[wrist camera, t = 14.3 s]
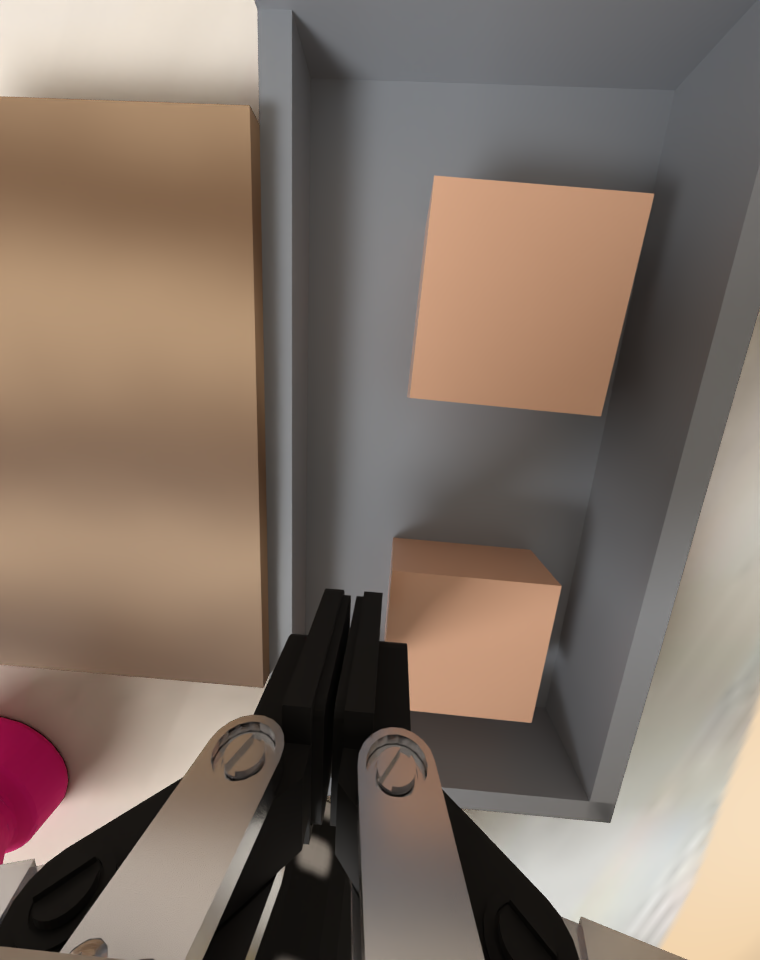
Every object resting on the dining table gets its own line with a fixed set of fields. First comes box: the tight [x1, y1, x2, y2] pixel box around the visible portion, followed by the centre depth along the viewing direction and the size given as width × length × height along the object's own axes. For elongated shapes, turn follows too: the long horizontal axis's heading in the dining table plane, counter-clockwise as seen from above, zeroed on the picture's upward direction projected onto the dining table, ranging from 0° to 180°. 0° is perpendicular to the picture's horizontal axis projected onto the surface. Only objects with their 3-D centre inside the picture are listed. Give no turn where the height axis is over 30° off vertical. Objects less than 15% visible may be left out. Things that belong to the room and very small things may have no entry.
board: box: [0, 97, 270, 688], centre depth 12 cm, size 16×10×3 cm, turn 177°
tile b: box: [384, 538, 562, 723], centre depth 12 cm, size 5×5×2 cm
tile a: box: [407, 176, 654, 416], centre depth 10 cm, size 5×5×2 cm
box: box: [254, 0, 760, 823], centre depth 11 cm, size 22×12×4 cm, turn 177°
